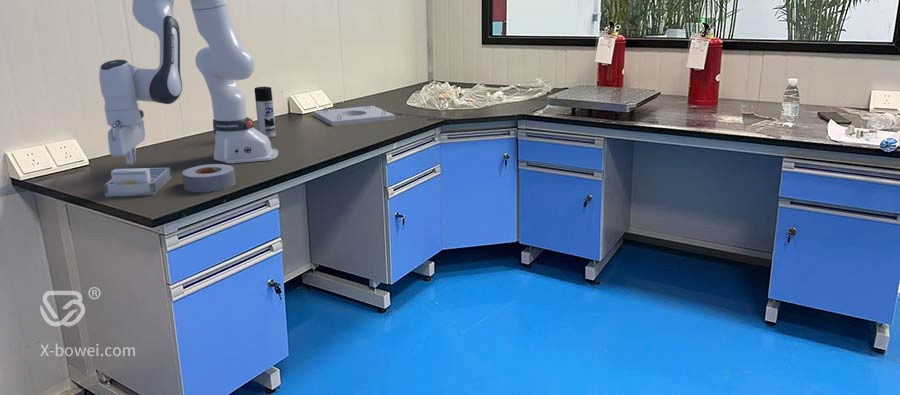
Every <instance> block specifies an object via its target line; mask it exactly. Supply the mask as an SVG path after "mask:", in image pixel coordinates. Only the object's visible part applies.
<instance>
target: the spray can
mask: <svg viewBox="0 0 900 395" xmlns="http://www.w3.org/2000/svg"><path fill="white" fill-rule="evenodd" d="M254 99H255V108H256V119H257V127H258V128H257V130H258V131H259V132H261V133H262V134H264V135H266V136H267V137H268V138H269V139H271V138H275V137H276V136H277V134H276V122H275V121H276V120H275V111H274V100H273V92H272V87H270V86H256V87H255V88H254Z"/></svg>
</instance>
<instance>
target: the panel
mask: <svg viewBox="0 0 900 395" xmlns="http://www.w3.org/2000/svg"><path fill="white" fill-rule="evenodd" d="M149 168H150V167H149ZM149 168H148V167H147V168H145V167H144V168H143V167H141V168H114V169H113V170H111V171H110V175H111V179H112V181H113V184H123V182H132V181H135V183H151V176H150V169H149Z"/></svg>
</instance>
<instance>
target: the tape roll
mask: <svg viewBox="0 0 900 395" xmlns="http://www.w3.org/2000/svg"><path fill="white" fill-rule="evenodd" d="M181 175H182V182H183V189H184V190H185V191H187V192H190V191H192V193H212V192H211V191H214V192H220V191H225V190H228V189H230V188H232V187H233V186H235V185H236V174H235V167H234V166H233V165H230V164H229V165H228V164H223V163H219V164H218V163H214V164H211V163H210V164H203V165H202V164H201V165H196V166H193V167H189V168H186V169H184V170H183V171H182V172H181ZM219 190H220V191H219Z"/></svg>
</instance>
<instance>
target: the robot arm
mask: <svg viewBox="0 0 900 395" xmlns="http://www.w3.org/2000/svg"><path fill="white" fill-rule="evenodd" d="M189 1H190V7H191V10H192V14H193V17H194V20H195V24H196V28H197V31H198V33H199V35H200V36H201V37H202V38H203V39H204V41H205V42H206V43H207V45H208V46H205V47H202V48H201V49H199V51H198V52H197V53H196V56H195V59H194V60H195V66H196V68H197V70H198V71H199V72H200V74H201V75H202V76H203V78H204V81H205V83H206V87H207V88H208V91H209V96H210V99H211V106H212V113H213V119H212V126H213V133H214V137H215V139H214V141H215V142H214V152H213V154H214V155H213V160H215V161H219V162H223V163H225V164H238V163H240V164H241V163H250V162H251V163H252V162H264V161H265V162H266V161H272V160H274V159H276V158H277V157H279V151H278V149H276V148H273V146H272V143H271V140H270V138H268V137H267V136H266V135H264V134H262V133H261V132H259V130H258V129H257V128H254V122H253V120H254V119H253V118H250V117H248V116H247V109H246V100H245V95H244V93H243V91H241V89H240V87H239V86H238V83H237V82H238V81H242V80H246V79H248V78H250V77H251V76H252V75H253V73H254V71H255V61H254V58H253V56H252V55H251V54H250V53H249V52H248V51H247V50H246V49H245V47H244V46H243V44H242V43H241V41H240V39H239V37H238V36H237V34H236V31H235V29H234V27H233V24H232V20H231V17H230V13H229V9H228V6H227V2H226V0H189ZM174 3H175V0H132V6H131V8H132V15H133V18H134V19H135V20H136V21H137V23H138V24H140V25H141V26H142V27H143V28H144V29H147V30H149V31H151V32H153V33H154V34H155V35H156V36H157V38H158V40H159V65H158V67H157V68H156V69H155V68H140V67H137V66H134V65H132V64H131V63H129V62H128V61H127V60H126V59H113V60H108V61H105V62H103V64H101V65H100V66H99V72H98V73H99V75H98V76H99V85H100V90H101V92H100V93H101V95H102V97H103V100H104V114H105V117H106V123H107V125H108V126H109V127H110V129H109V130H108V131H107V140H108V141H107V143H108V150H109V154H110V155H111V157H124V158H125V161H126V162H125V163H126V164H127V165H133V164H134V163H135V162H136V160H137V158H136V155H137V154H136V152H137V148H136V147H137V146H138V145H139V144H141V143H142V142H143V141H144V140H145V139H146V138H145V137H146V132H145V123H144V117H145V112H144V110H143V109H140V108H139V104H138V101H139V102H150V103H151V102H153V103H159V104H164V105H170V104H173V103H175V102H176V101H177V100H178V99H179V98H180V96H181V94H182V92H183V82H182V75H181V30H180V25H179V22H178V21H177V20H176V18H175V17H174V5H175V4H174Z"/></svg>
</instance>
